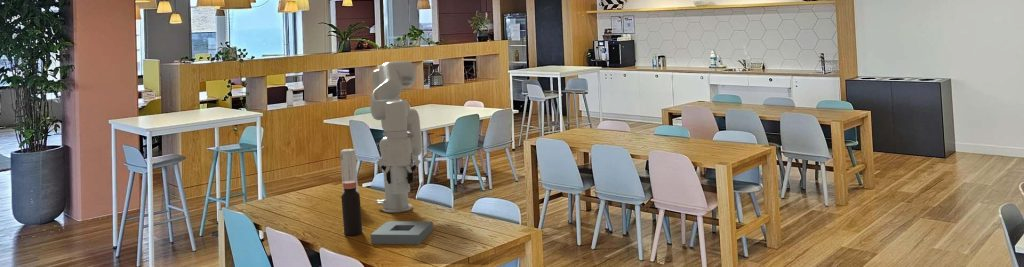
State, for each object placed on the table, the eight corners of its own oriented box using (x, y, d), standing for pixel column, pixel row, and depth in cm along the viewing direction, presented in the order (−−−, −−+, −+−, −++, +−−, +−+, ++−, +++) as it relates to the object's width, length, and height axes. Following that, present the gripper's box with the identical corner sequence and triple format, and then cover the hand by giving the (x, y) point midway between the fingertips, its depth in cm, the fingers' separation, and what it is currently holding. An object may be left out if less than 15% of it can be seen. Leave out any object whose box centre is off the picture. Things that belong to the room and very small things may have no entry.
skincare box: (396, 194, 280) (393, 162, 278) (390, 193, 283) (388, 160, 282) (411, 192, 283) (409, 159, 282) (405, 190, 287) (403, 158, 285)
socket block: (371, 243, 278) (370, 234, 277) (387, 230, 295) (387, 221, 295) (419, 244, 274) (418, 234, 274) (433, 230, 292) (432, 221, 291)
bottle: (340, 234, 292) (336, 182, 289) (354, 230, 297) (350, 179, 294) (352, 237, 288) (348, 184, 285) (366, 232, 293) (362, 181, 290)
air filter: (343, 205, 340) (339, 149, 336) (358, 203, 342) (354, 148, 338) (344, 208, 334) (340, 151, 330) (360, 206, 335) (355, 150, 332)
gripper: (370, 137, 278) (374, 185, 281) (417, 136, 275) (420, 184, 278) (377, 134, 286) (381, 181, 288) (423, 133, 283) (426, 180, 285)
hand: (400, 182), depth 283 cm, fingers closed on skincare box, 7 cm apart
